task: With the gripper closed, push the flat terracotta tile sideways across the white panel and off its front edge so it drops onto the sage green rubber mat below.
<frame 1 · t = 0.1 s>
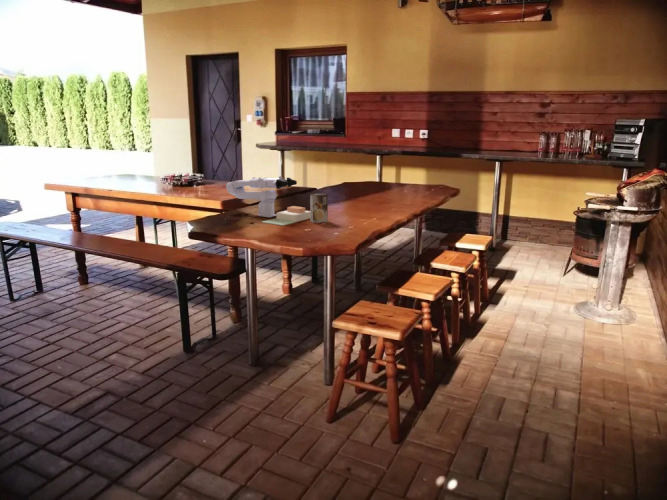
hand: (292, 183, 306), 22 cm above the table, tool horizontal, fingers open, 7 cm apart
green mat: (278, 222, 304), on the table
coffee box: (318, 221, 307), on the table
white panel: (294, 218, 315), on the table
terracotta tile: (296, 209, 315), point 5 cm above the table, touching white panel
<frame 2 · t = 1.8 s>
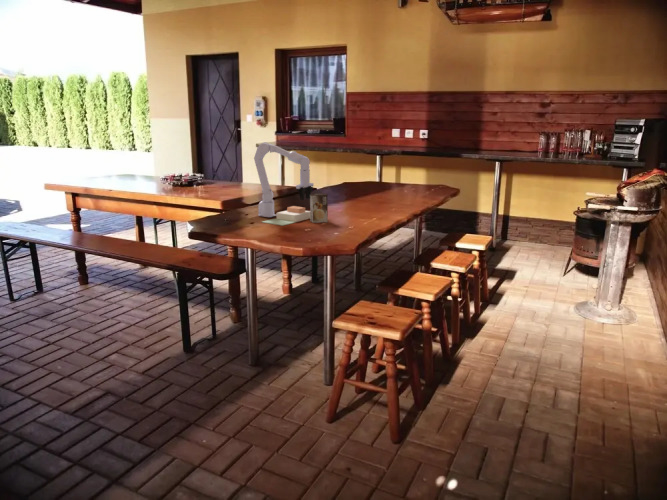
hand: (305, 199, 320), 10 cm above the table, tool pointing down, fingers open, 5 cm apart
nothing on the table moved.
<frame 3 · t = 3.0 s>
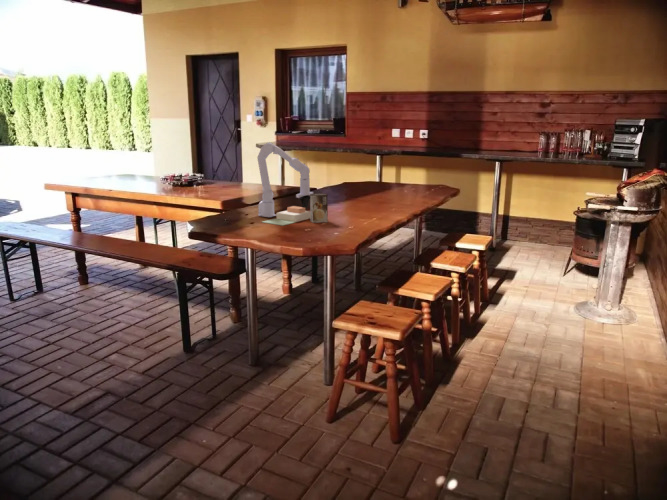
hand: (304, 208, 322), 5 cm above the table, tool pointing down, fingers closed
nothing on the table moved.
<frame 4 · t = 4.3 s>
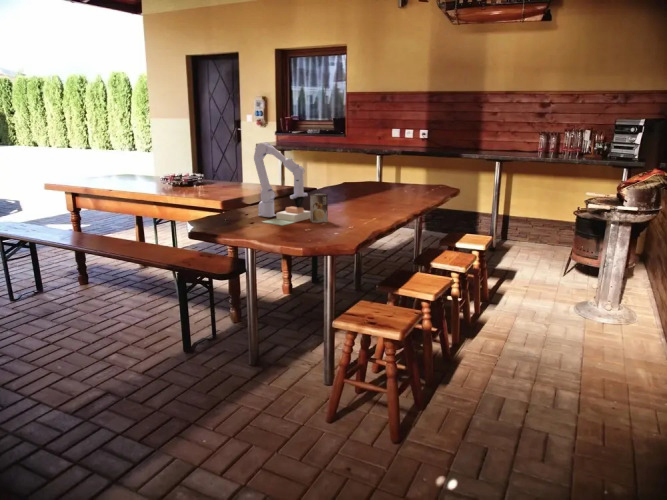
hand: (298, 209, 317), 5 cm above the table, tool pointing down, fingers closed
terracotta tile: (294, 209, 314), point 5 cm above the table
everything else where it was.
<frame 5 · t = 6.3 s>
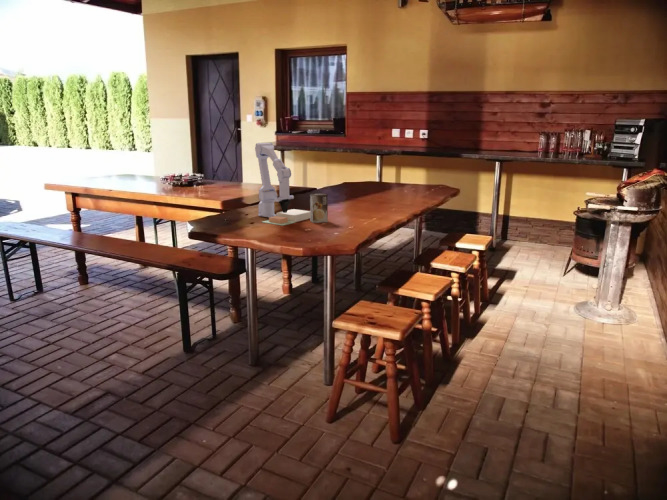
hand: (284, 212, 307), 5 cm above the table, tool pointing down, fingers closed
terracotta tile: (278, 219, 303), point 2 cm above the table, tilted 180°, touching green mat
everything else where it was.
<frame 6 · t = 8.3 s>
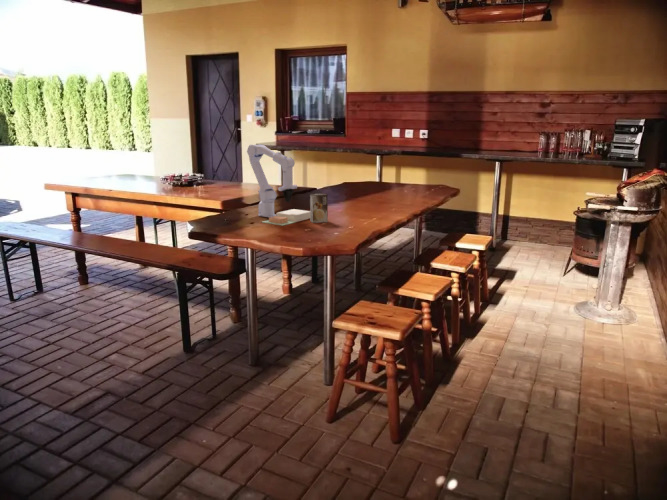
hand: (287, 201, 311), 10 cm above the table, tool pointing down, fingers closed
nothing on the table moved.
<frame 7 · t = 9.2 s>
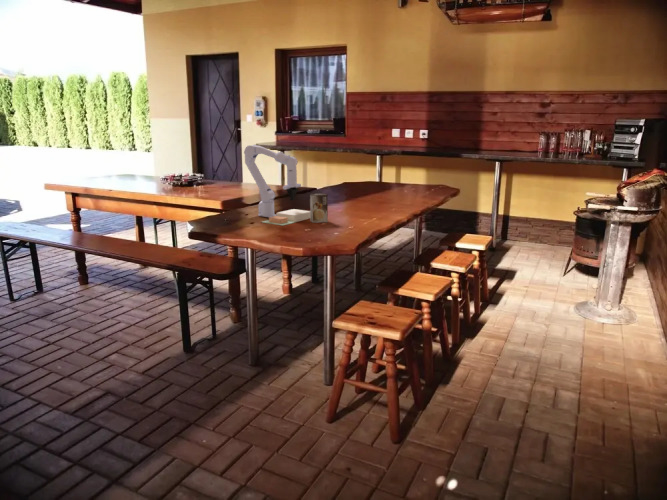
hand: (292, 200, 317), 10 cm above the table, tool pointing down, fingers closed
nothing on the table moved.
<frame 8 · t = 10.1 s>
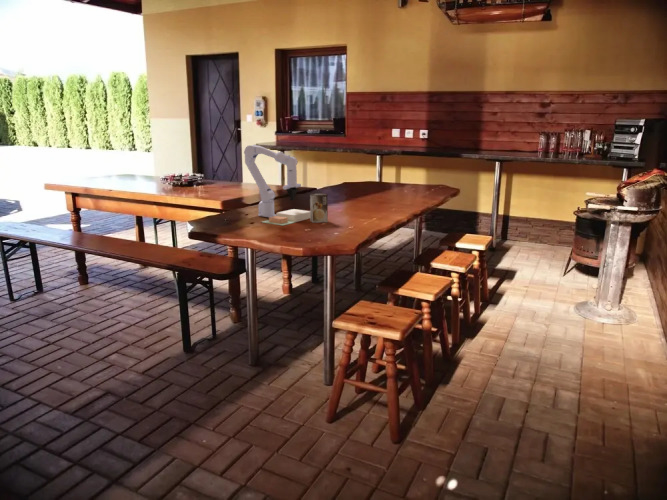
hand: (292, 200, 317), 10 cm above the table, tool pointing down, fingers closed
nothing on the table moved.
at the end: terracotta tile point 1.6 cm above the table; terracotta tile inside the target area (0.5 cm from its centre), point 1.6 cm above the table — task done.
